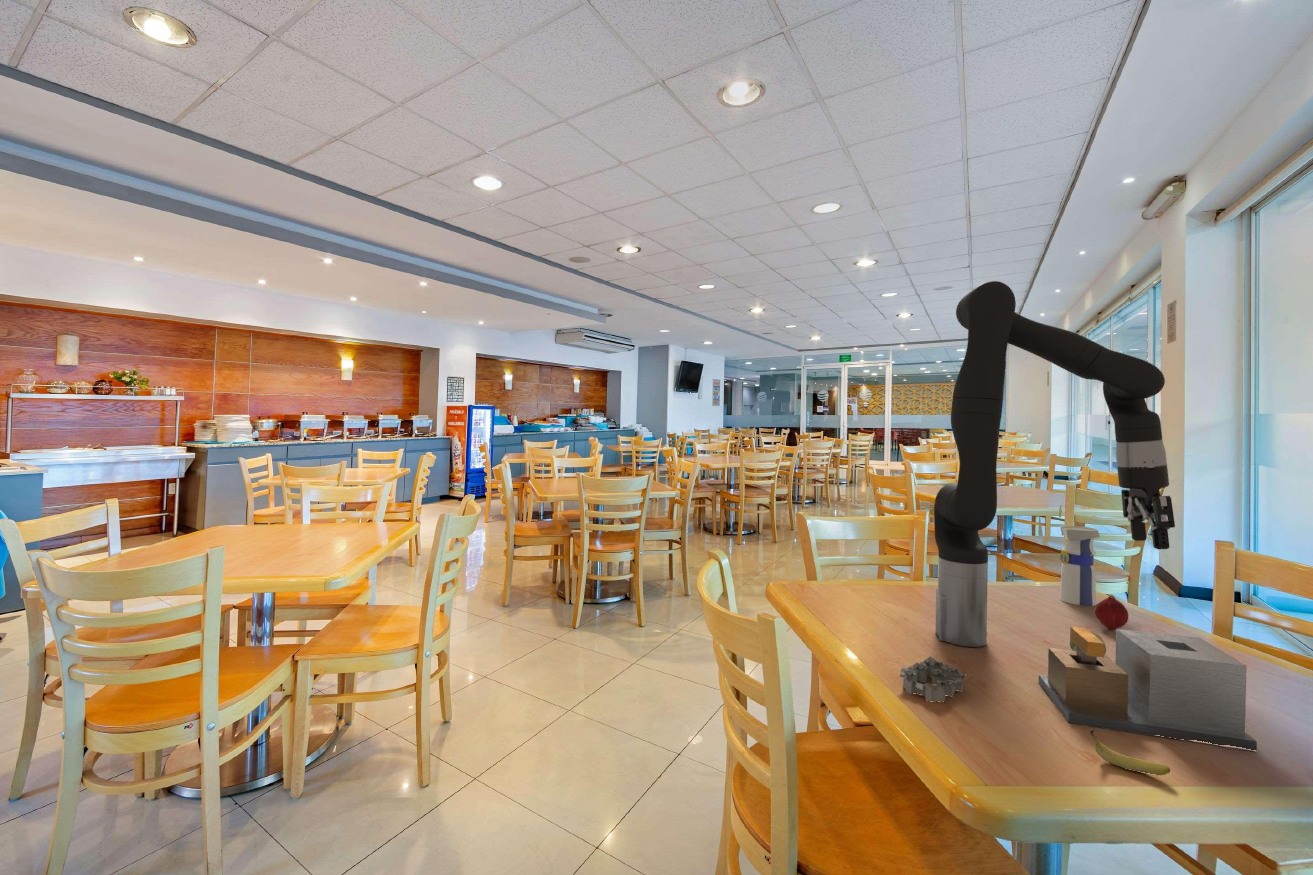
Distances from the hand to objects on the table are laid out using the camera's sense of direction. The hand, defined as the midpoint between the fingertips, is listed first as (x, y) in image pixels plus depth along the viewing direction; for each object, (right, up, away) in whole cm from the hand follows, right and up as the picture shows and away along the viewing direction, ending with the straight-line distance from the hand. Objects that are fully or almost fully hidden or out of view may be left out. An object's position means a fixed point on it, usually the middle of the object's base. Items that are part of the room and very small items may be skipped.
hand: (1150, 544), depth 109 cm
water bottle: (+12, -22, +34) cm, 42 cm away
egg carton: (-51, -23, -15) cm, 58 cm away
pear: (-15, -23, -3) cm, 27 cm away
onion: (+4, -22, +14) cm, 26 cm away
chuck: (-23, -22, -22) cm, 39 cm away
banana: (-36, -23, -37) cm, 57 cm away
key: (-29, -19, -20) cm, 40 cm away
